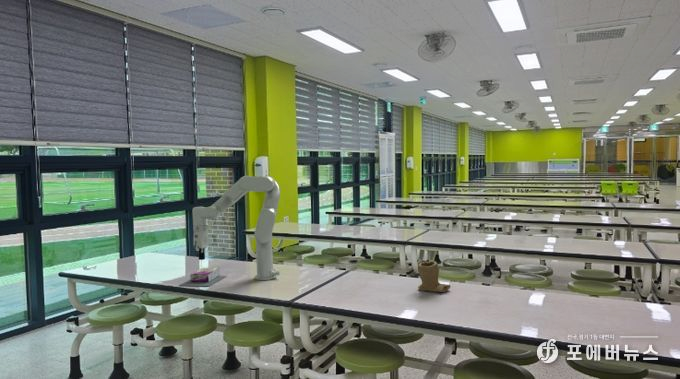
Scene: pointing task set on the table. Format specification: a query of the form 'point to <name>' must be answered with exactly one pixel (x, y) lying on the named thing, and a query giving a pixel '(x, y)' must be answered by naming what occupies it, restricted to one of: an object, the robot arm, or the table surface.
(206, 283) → the charcoal mat
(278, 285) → the table surface
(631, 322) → the table surface
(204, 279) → the candy bar box
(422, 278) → the tan boot
